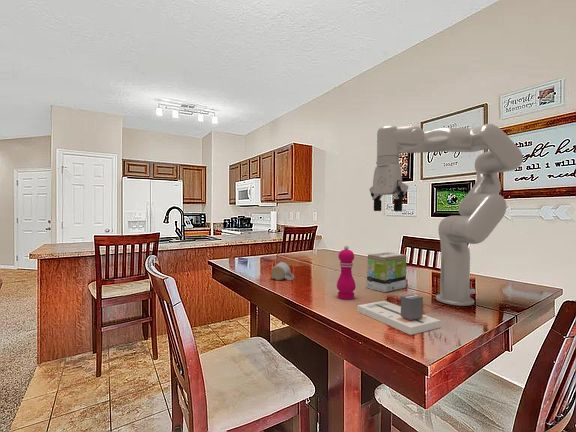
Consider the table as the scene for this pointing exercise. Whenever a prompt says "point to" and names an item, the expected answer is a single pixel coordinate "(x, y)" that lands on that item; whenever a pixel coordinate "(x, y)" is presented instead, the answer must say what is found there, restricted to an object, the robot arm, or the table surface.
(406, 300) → the fader
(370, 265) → the tea box
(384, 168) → the robot arm
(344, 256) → the pepper mill
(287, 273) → the ceramic mug
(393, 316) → the fader console
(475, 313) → the table surface
